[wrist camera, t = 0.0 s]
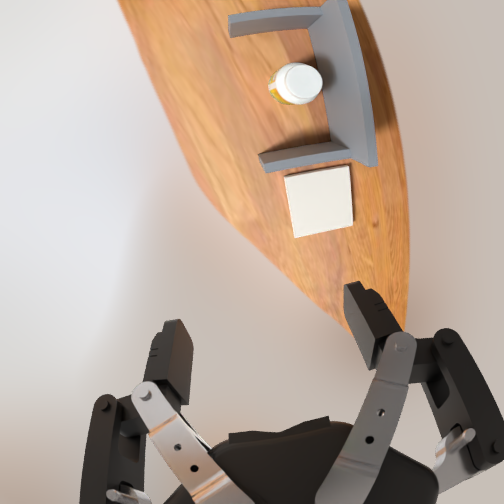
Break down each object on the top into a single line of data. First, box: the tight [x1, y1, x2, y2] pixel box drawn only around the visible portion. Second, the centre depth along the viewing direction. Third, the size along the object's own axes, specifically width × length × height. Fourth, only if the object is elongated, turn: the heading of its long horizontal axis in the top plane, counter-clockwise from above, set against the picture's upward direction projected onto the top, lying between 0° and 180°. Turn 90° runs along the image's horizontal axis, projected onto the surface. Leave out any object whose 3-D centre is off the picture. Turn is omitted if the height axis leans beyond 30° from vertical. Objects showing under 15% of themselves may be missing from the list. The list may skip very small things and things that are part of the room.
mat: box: [284, 165, 353, 238], centre depth 41 cm, size 10×10×1 cm
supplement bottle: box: [268, 63, 322, 105], centre depth 28 cm, size 5×5×10 cm
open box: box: [228, 0, 378, 173], centre depth 27 cm, size 20×12×12 cm, turn 12°
